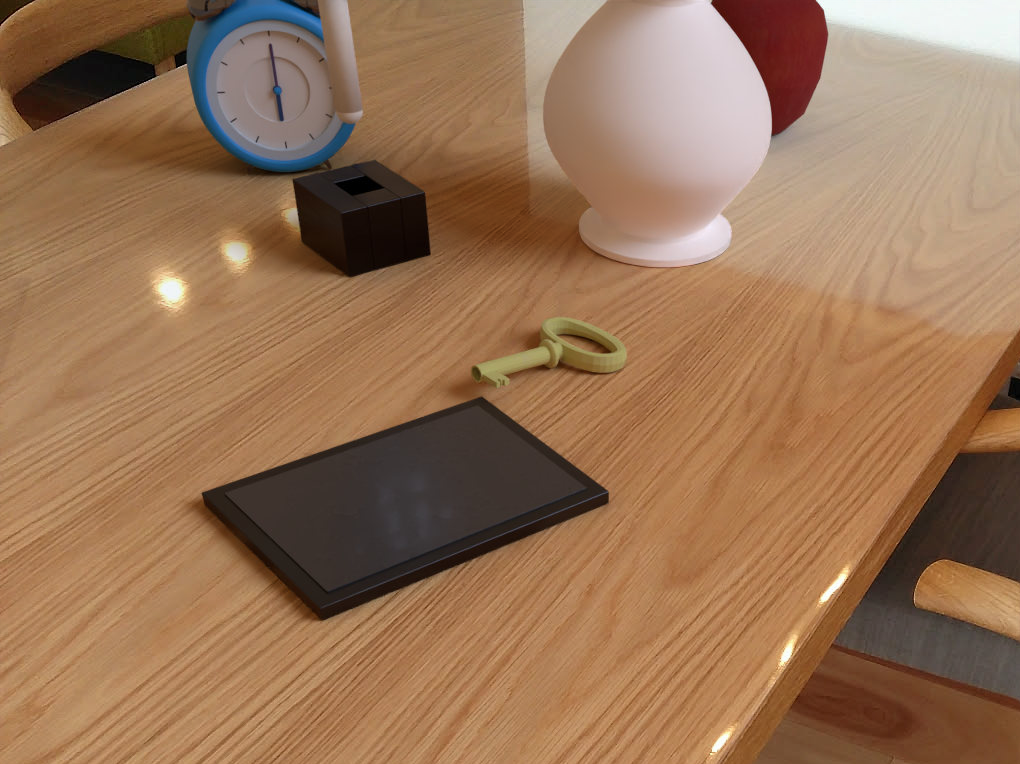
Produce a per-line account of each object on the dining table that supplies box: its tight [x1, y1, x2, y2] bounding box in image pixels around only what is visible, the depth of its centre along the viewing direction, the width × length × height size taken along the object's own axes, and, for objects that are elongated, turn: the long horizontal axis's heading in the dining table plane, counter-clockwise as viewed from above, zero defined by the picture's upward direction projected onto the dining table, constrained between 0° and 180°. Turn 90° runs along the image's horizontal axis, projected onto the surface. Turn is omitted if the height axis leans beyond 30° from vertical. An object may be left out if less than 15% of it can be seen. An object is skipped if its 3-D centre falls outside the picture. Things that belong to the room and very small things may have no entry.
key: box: [470, 316, 628, 389], centre depth 101 cm, size 7×12×2 cm, turn 155°
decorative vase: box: [542, 0, 772, 268], centre depth 111 cm, size 18×18×25 cm
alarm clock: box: [185, 0, 357, 176], centre depth 119 cm, size 13×6×15 cm, turn 110°
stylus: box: [318, 0, 364, 124], centre depth 102 cm, size 2×2×14 cm
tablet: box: [201, 396, 610, 621], centre depth 89 cm, size 20×14×1 cm
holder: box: [291, 159, 432, 278], centre depth 112 cm, size 7×7×5 cm
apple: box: [710, 0, 829, 136], centre depth 133 cm, size 12×12×13 cm
